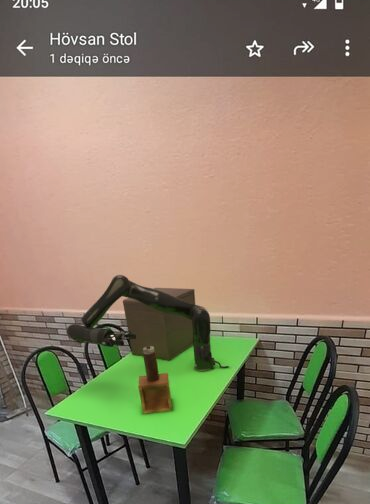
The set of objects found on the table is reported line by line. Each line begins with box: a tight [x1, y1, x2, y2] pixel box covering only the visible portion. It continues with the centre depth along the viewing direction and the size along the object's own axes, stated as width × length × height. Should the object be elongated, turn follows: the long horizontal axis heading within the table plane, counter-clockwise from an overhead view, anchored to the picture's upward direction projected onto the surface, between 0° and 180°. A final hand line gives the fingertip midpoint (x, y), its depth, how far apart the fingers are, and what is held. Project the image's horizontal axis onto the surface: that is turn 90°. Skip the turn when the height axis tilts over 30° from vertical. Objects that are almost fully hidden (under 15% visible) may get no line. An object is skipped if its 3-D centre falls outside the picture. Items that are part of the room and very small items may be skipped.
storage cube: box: [122, 287, 196, 361], centre depth 210 cm, size 34×29×34 cm
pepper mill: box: [142, 346, 160, 382], centre depth 143 cm, size 5×5×15 cm
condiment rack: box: [138, 372, 173, 414], centre depth 150 cm, size 13×10×14 cm
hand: (129, 339), depth 148 cm, fingers open, 8 cm apart
